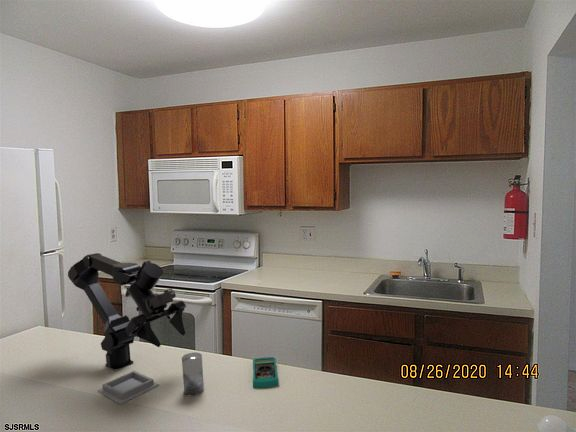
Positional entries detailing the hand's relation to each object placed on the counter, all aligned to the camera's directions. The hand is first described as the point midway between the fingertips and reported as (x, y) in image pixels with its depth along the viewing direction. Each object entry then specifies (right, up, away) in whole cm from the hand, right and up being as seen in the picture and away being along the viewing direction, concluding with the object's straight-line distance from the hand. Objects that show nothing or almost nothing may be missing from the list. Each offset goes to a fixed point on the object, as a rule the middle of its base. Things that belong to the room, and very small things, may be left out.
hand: (172, 340), depth 119 cm
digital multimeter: (+27, -12, +5) cm, 30 cm away
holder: (-13, -14, 0) cm, 19 cm away
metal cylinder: (+7, -13, -3) cm, 15 cm away
